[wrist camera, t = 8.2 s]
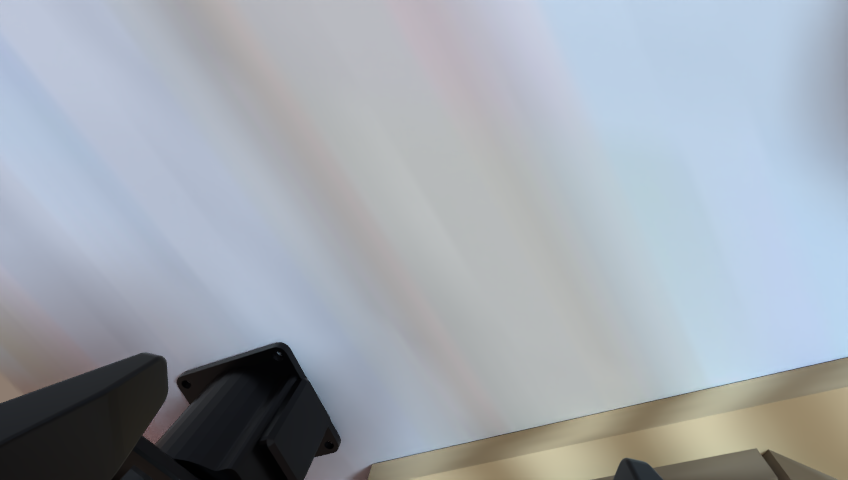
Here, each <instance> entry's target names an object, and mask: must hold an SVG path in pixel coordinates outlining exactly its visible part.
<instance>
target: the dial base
mask: <svg viewBox="0 0 848 480" xmlns="http://www.w3.org/2000/svg"><path fill="white" fill-rule="evenodd" d="M623 458H631V459H636V460H641V461H644V462H647V463H648V464H649V465H650V466H651V467H652V468H653V469H654V470H655V471H656V472H657V473H658V474H659V475H660V476H661V477H662V478H663V479H664V480H848V358H843V359H839V360H834V361H830V362H826V363H821V364H817V365H812V366H808V367H803V368H799V369H794V370H790V371H786V372H781V373H777V374H772V375H768V376H763V377H759V378H754V379H750V380H745V381H741V382H737V383H732V384H728V385H723V386H719V387H714V388H710V389H705V390H701V391H697V392H692V393H688V394H683V395H679V396H674V397H670V398H665V399H661V400H656V401H652V402H648V403H643V404H639V405H634V406H630V407H625V408H621V409H616V410H612V411H608V412H603V413H599V414H594V415H590V416H585V417H581V418H576V419H572V420H568V421H563V422H559V423H554V424H550V425H545V426H541V427H536V428H532V429H527V430H523V431H519V432H514V433H510V434H505V435H501V436H496V437H492V438H487V439H483V440H479V441H474V442H470V443H465V444H461V445H456V446H452V447H447V448H443V449H439V450H434V451H430V452H425V453H421V454H416V455H412V456H407V457H403V458H398V459H394V460H390V461H385V462H381V463H376V464H372V467H371V470H370V473H369V477H368V480H613V478H614V476H615V473H616V471H617V468H618V466H619V463H620V462H621V460H622V459H623Z"/></svg>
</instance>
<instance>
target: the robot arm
mask: <svg viewBox="0 0 848 480" xmlns="http://www.w3.org/2000/svg"><path fill="white" fill-rule="evenodd" d="M277 352H280V353H281V354H282V355H283V356H280V355H279V354H278V353H277ZM188 381H189V382H190V383H189V382H188ZM177 385H178V387H179V388H180V390H181V392H182V393H183V395H184V396H185V398H186V399H187V401H188V402H189V404H190V406H189V407H188V408H187V409H186V410H185V411H184V412H183V413H182V415H181V416H180V417H179V418H178V419H177V420H176V421H175V422H174V423H173V425H172V426H171V427H170V428H169V429H168V430H167V431H166V432H165V433H164V435H163V436H162V437H161V438H160V439H159V440H158V441H157V442H156V444H155V445H154V444H153V443H151V442H150V441H149V440H147V439H146V438H145V437H143V436H142V435H143V433H144V432H145V430H146V429H147V427H148V426H149V424H150V423H151V421H152V420H153V418H154V417H155V415H156V414H157V412H158V411H159V409H160V408H161V406H162V405H163V403H164V402H165V400H166V397H167V394H168V376H167V362H166V359H165V358H164V357H163V356H160V355H155V354H151V353H140V354H137V355H135V356H132V357H129V358H126V359H123V360H121V361H118V362H115V363H112V364H109V365H107V366H104V367H101V368H98V369H95V370H93V371H90V372H87V373H84V374H81V375H79V376H76V377H73V378H70V379H67V380H65V381H62V382H59V383H56V384H53V385H51V386H48V387H45V388H42V389H39V390H37V391H34V392H31V393H28V394H25V395H22V396H20V397H17V398H14V399H11V400H9V401H6V402H3V403H0V480H304V478H305V476H306V474H307V472H308V470H309V467H310V465H311V463H312V461H313V459H314V457H318V456H322V455H326V454H330V453H334V452H336V451H337V450H338V448H339V446H340V443H341V439H340V436H339V435H338V433H337V431H336V429H335V427H334V426H333V424H332V422H331V420H330V417H329V415H328V414H327V412H326V410H325V408H324V406H323V405H322V403H321V401H320V399H319V398H318V396H317V394H316V392H315V390H314V389H313V387H312V385H311V383H310V382H309V381H308V379H307V377H306V376H305V374H304V372H303V370H302V369H301V367H300V365H299V363H298V361H297V360H296V358H295V356H294V354H293V353H292V351H291V349H290V348H289V346H288V345H286V344H284V343H281V342H280V343H275V344H271V345H268V346H265V347H262V348H259V349H256V350H252V351H249V352H246V353H243V354H240V355H237V356H234V357H230V358H227V359H224V360H221V361H218V362H215V363H211V364H208V365H205V366H202V367H199V368H196V369H193V370H189V371H186V372H184V373H183V374H182V375H181V376H180V377H179V378H178V380H177ZM328 441H330V442H332V443H330V442H328ZM613 480H664V479H663V478H662V477H661V476H660V475H659V474H658V473H657V472H656V471H655V470H654V469H653V468H652V467H651V466H650V465H649V464H648V463H647V462H644V461H641V460H636V459H631V458H623V459H622V460H621V462H620V463H619V466H618V468H617V471H616V473H615V476H614V478H613Z"/></svg>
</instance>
